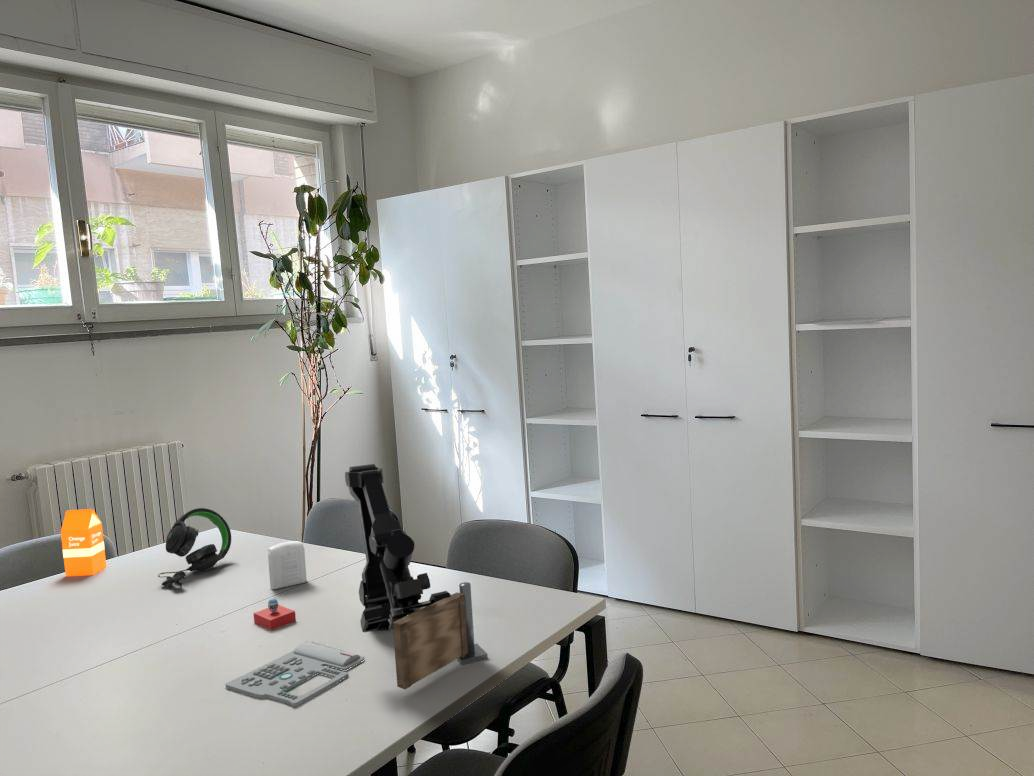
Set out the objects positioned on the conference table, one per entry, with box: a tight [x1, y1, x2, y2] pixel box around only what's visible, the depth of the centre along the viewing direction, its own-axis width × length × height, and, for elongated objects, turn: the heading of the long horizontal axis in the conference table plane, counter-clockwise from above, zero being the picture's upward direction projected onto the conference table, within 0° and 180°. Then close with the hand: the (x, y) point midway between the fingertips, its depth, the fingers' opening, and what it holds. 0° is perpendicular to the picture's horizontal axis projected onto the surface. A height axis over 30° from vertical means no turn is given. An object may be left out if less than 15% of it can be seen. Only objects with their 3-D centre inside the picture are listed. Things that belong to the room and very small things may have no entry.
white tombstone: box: [267, 540, 308, 590], centre depth 218 cm, size 10×4×12 cm, turn 123°
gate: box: [392, 592, 468, 690], centre depth 156 cm, size 18×2×13 cm, turn 142°
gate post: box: [456, 581, 489, 666], centre depth 164 cm, size 6×6×16 cm
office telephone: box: [225, 641, 365, 708], centre depth 161 cm, size 23×3×20 cm
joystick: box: [252, 597, 297, 631], centre depth 191 cm, size 8×7×6 cm
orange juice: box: [60, 508, 107, 577], centre depth 241 cm, size 8×9×20 cm
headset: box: [157, 507, 232, 588], centre depth 232 cm, size 18×14×29 cm
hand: (417, 649), depth 154 cm, fingers closed
